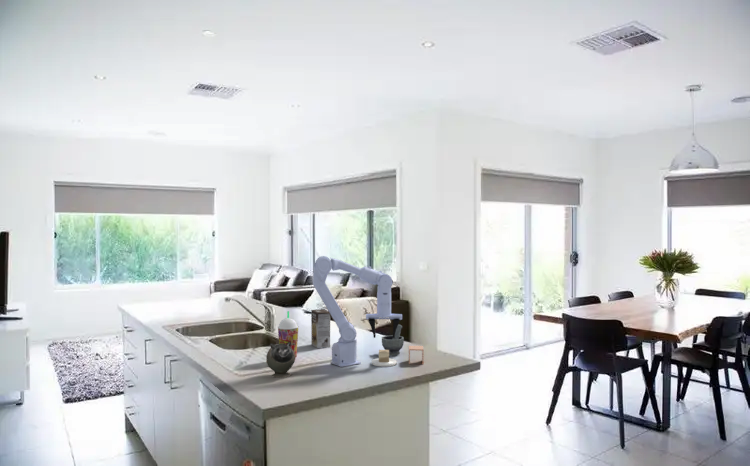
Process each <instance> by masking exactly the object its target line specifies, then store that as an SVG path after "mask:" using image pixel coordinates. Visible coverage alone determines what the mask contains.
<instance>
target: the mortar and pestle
mask: <svg viewBox="0 0 750 466" xmlns="http://www.w3.org/2000/svg"><path fill="white" fill-rule="evenodd" d="M402 329H403V325H401V324H400V323H399V324H398V326H397V329H396V332H395V338H393V334H392V335H385V336H381V345H382V348H383V350H389V356H400V354H401V353H400V351H401V349H403V346H404V344H405V339H404V338H405V337H404V336H401V332H402Z"/></svg>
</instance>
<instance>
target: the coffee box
mask: <svg viewBox="0 0 750 466" xmlns="http://www.w3.org/2000/svg"><path fill="white" fill-rule="evenodd" d="M310 311H311V313H310V315H311V316H310V317H311V319H310V320H311V327H310V328H311V331H310V332H311V345H312V346H313V347H315V348H316V349H324V348H323V347H328V348H331V314H330V312H329V311H328V310H327V309H311V310H310Z"/></svg>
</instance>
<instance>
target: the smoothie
mask: <svg viewBox="0 0 750 466" xmlns="http://www.w3.org/2000/svg"><path fill="white" fill-rule="evenodd" d="M286 313H287V314H286V315H287V317H285V318H284V319H282V320H281V321H280V322H279V324H278V326H277V331H278V344H287V343H288V342H291V346H290V347H291V348H292V349H293V351H294V354H295V359H296V358H297V356H298V355H297V354H298V343H299V342H298V337H299V327H300V326H299V325H298V323H297V321H296V320H295V319H294V318H291V317H290V311H287V312H286Z"/></svg>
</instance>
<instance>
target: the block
mask: <svg viewBox="0 0 750 466" xmlns="http://www.w3.org/2000/svg"><path fill="white" fill-rule="evenodd" d="M378 358H379V362H389V358H390V355H389V350H385V349H379V350H378Z"/></svg>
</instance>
